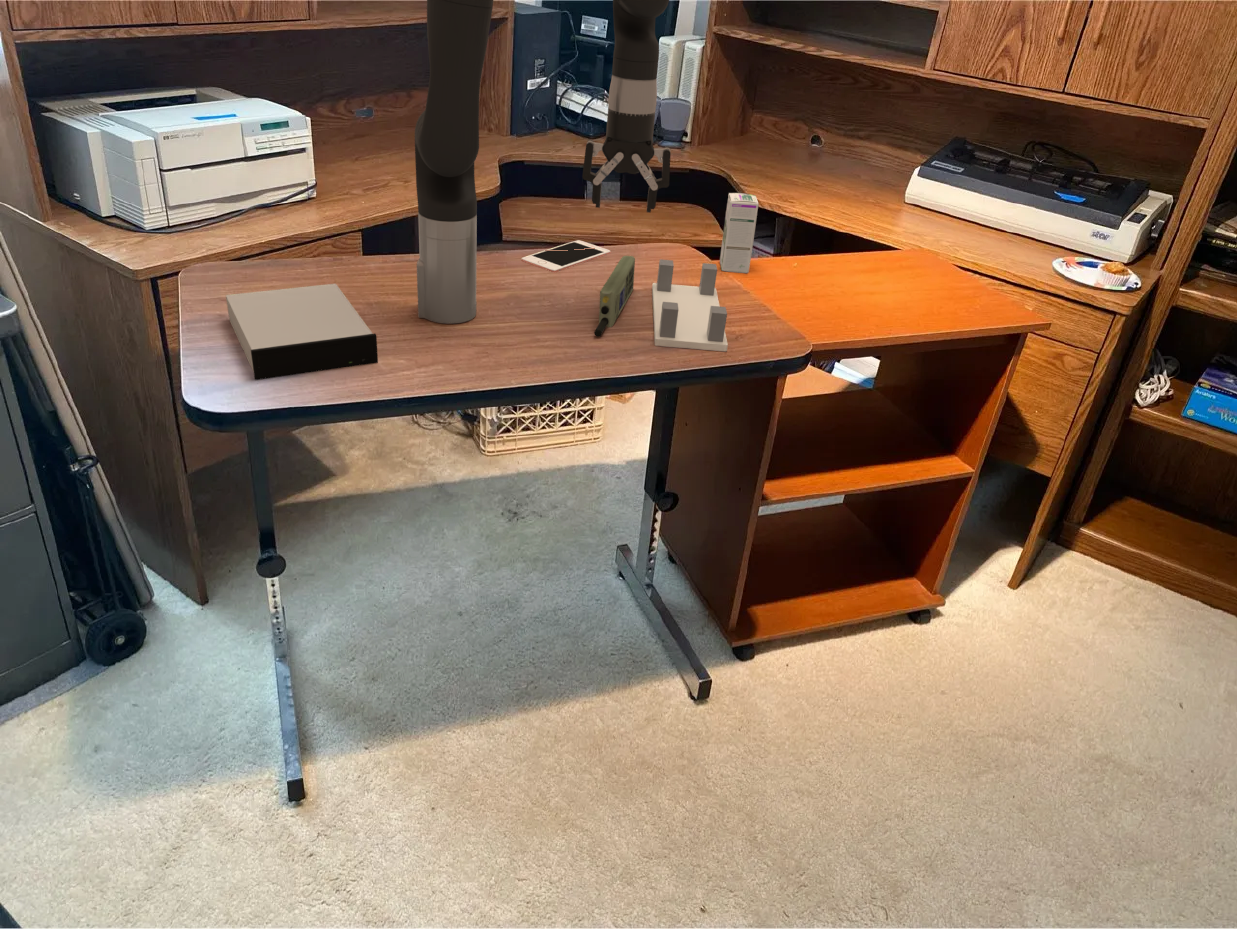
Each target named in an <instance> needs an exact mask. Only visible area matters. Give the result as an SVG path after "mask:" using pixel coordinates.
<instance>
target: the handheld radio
mask: <svg viewBox="0 0 1237 929" xmlns="http://www.w3.org/2000/svg"><path fill="white" fill-rule="evenodd" d="M635 262H636V258H635V257H634V256H633V255H623V256H622V257H621V259H619V261H618V262H617V264H616V266H615V267H614V269H613V271H612V272H611V274H610V276H609V277H608V279H607V280H606V281H605V283H604V285H603V286H602V288H601V289H600V291H599V307H598V308H599V311H598V312H599V313H598V315H599V316H598V325H597V327H596V328H595V329H594V332H593V333H594V336H595V337H596V338H597V337H601V336H602V334H603V333H604V332H605V329H606V328H612V327H613V326H614V324H615V323H616V321H617V319H618V318H619V315H620V313H621V312H622V310H623V309H624V307H625V305H626V304H627V302H628V299H629V298H630V296H631V295H632V293H633V290H634V281H635V280H634V279H635V268H636V267H635Z"/></svg>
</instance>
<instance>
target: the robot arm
mask: <svg viewBox="0 0 1237 929" xmlns="http://www.w3.org/2000/svg"><path fill="white" fill-rule="evenodd" d="M669 2H670V0H612V8H613V9H612V11H613V12H612V13H613V31H614V46H613V47H614V48H613V49H614V50H613V55H612V56H613V58H612V72H611V73H612V74H611V81H610V86H609V91H608V101H607V102H608V105H607V117H606V118H607V119H606V135H605V140H604V142H603V143H602V142H601V143H600V142H595V141H594V140H593V139H588V140H587V142H586V145H585V152H584V158H583V167H582V174H581V175H582V176H581V177H582V179H583V180H584V181H588V182H590V183H591V184H592V190H591V191H592V193H591V194H592V195H591V203H592V204H594V205H595V208H598V209H600V207H601V202H602V201H601V200H602V198H601V197H602V187H603V186H602V185H603V183H602V181H603V180H605V179H606V178H607V177H608V176H609V175H610V173H611V172H612V171H614V172H616V173H619V174H625V173H628V174H630V175H637V174H639V173H640V175H641V176H642V177H643V179H644V180H645V181H646V183H647V184H648V186H649V187H648V192H647V193H648V194H647V201H646V202H647V203H646V213H651V212H652V210H655V208H656V206H657V196H658V195H657V194H658V191H659V189H663V188H668V187H669V186H670V174H671V154H672V152H671V148H670V147H669V146H665V147H663V148H661V147H660V148H657V147H656V148H655V147H654V144H653V139H654V138H653V137H654V129H655V119H656V108H657V104H658V103H657V97H658V96H657V95H658V82H657V81H658V71H659V70H658V69H659V61H660V60H659V59H660V44H659V42H658V39H657V37H656V18H658V17H659V16H661V14H663V13H664V12H665V10H666V9H667V7H668V6H669ZM493 6H494V0H426V28H427V29H426V30H427V31H426V32H427V46H428V48H427V49H428V58H429V80H428V81H429V82H428V91H427V98H426V104H425V109H424V111H423V112H422V113H421V114H420V116H418V119H417V121H416V123H415V126H414V127H415V128H414V158H415V160H414V161H415V163H414V164H415V183H416V184H415V185H416V187H415V188H416V198H417V213H418V215H417V216H418V219H417V220H418V244H419V245H418V247H419V248H418V249H419V250H418V251H419V258H418V260H417V262H416V288H417V289H416V290H417V317H418V318H421V319H426V320H428V321H431V322H434V323H439V324H452V325H453V324H460V323H465V322H469V321H470V320H473V319H474V318H475V317H476V316H477V304H478V303H477V245H478V244H477V239H478V238H477V233H478V232H477V231H478V230H477V225H478V224H477V222H478V221H477V219H478V218H477V217H478V216H477V214H478V213H477V212H478V210H477V209H478V206H477V204H478V200H477V199H478V198H477V191H476V190H477V189H476V180H475V177H476V176H475V161H476V160H477V158H478V157H477V156H478V155H479V151H480V94H481V93H480V91H481V90H480V89H481V81H482V74H483V68H484V63H485V59H486V58H485V57H486V52H487V49H488V48H487V47H488V46H487V45H488V42H489V41H488V40H489V34H490V26H491V20H492V14H493ZM600 151H602V153H603V155H604V157H605V159H606V161H605V163H604V164H603V165H602V166H601V167H600V168H599V170H598V171H597V172H593V171H592V164H593V157H594V158H595V157H597V156H598V154H599V152H600ZM654 157H656V158H657V161H658V162H659V163H661V166H662V167H661V168H662V170H661V177H660V178H658V179H657V178H656V177H655V174H654V173H653V171H652V169H651V167H650V166H649V164H648V163H649V162H650V161H651V160H652V159H653V158H654Z"/></svg>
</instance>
